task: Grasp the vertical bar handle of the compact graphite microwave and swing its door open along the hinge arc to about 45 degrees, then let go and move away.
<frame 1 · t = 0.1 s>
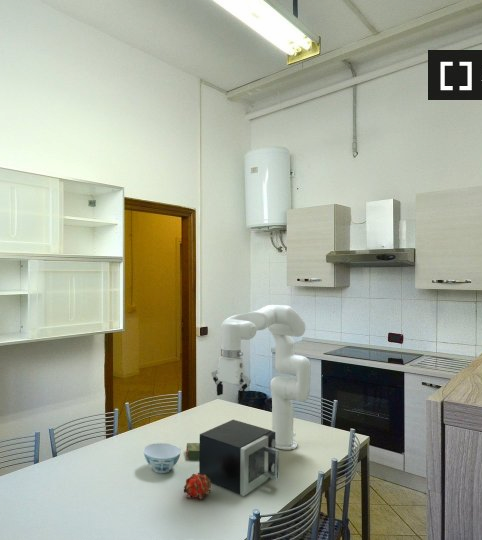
hand: (230, 397, 168), 31 cm above the table, tool pointing down, fingers open, 9 cm apart
microwave door: (261, 467, 158), point 9 cm above the table, hinge at 0.0°
chinaware: (161, 469, 174), on the table
microwave: (235, 475, 169), on the table
carton: (205, 456, 187), on the table
dragon fruit: (196, 497, 153), on the table
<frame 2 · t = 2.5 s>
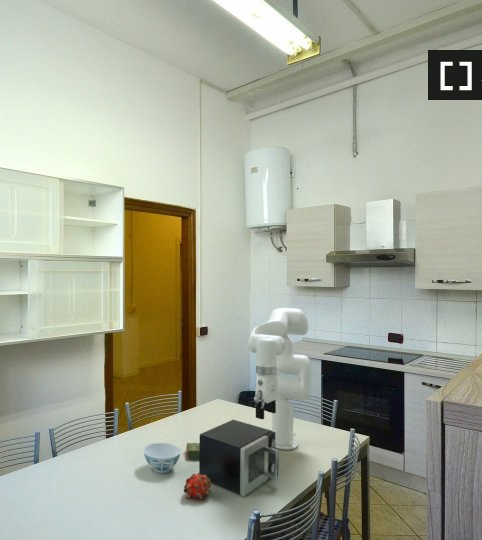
hand: (265, 415, 163), 26 cm above the table, tool pointing down, fingers open, 9 cm apart
nothing on the table moved.
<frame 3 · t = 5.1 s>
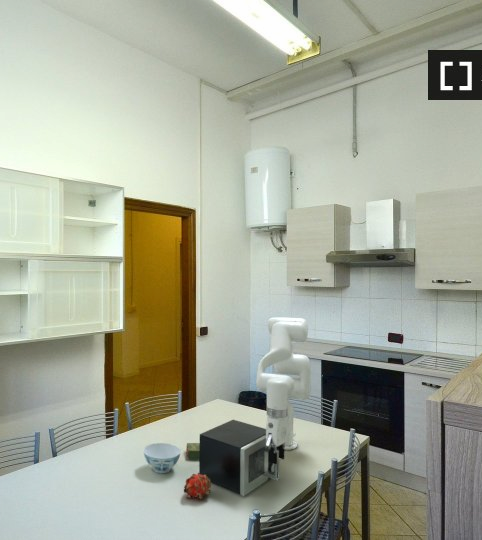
hand: (276, 459, 162), 9 cm above the table, tool pointing down, fingers open, 5 cm apart
microwave door: (261, 467, 158), point 9 cm above the table, hinge at 0.0°, touching gripper
everything else where it was.
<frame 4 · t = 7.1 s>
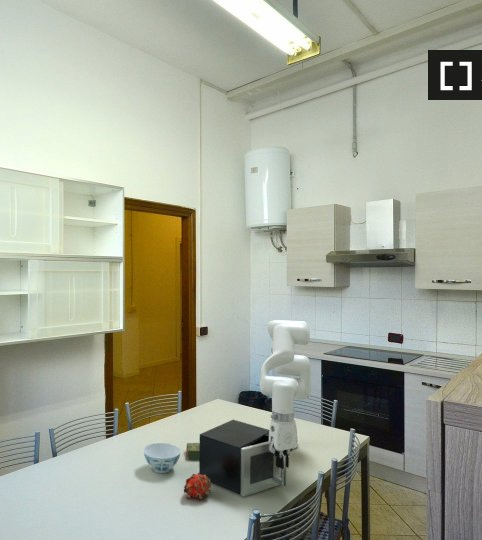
hand: (282, 466, 156), 9 cm above the table, tool pointing down, fingers closed, pressing on microwave door
microwave door: (266, 470, 155), point 8 cm above the table, hinge at 16.8°, touching gripper
everything else where it was.
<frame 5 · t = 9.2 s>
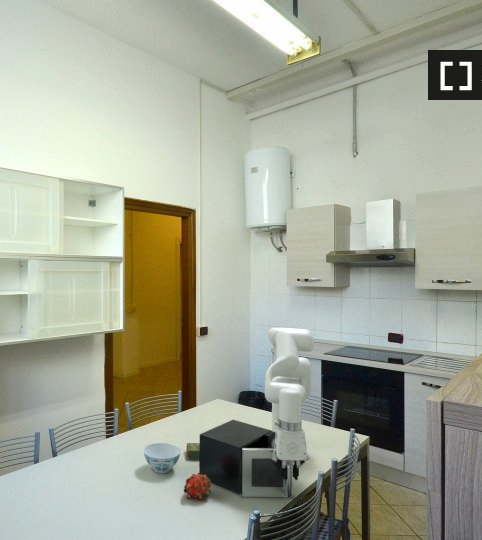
hand: (289, 477, 148), 9 cm above the table, tool pointing down, fingers open, 3 cm apart
microwave door: (269, 476, 151), point 9 cm above the table, hinge at 46.3°
everything else where it was.
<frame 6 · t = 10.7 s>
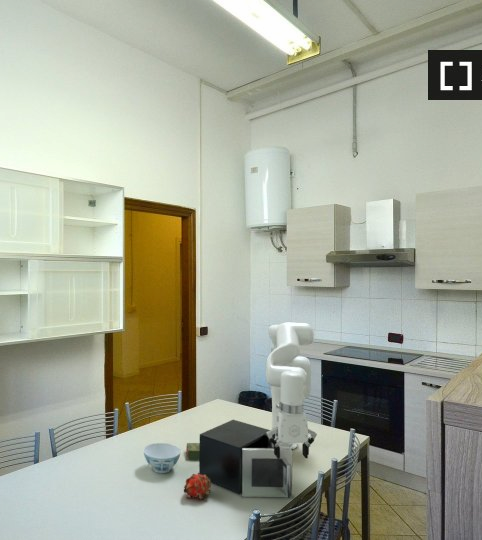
hand: (291, 456, 149), 16 cm above the table, tool pointing down, fingers open, 9 cm apart
nothing on the table moved.
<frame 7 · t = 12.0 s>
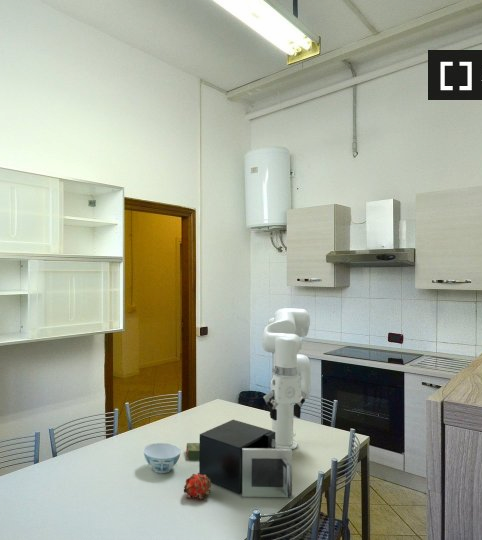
hand: (285, 418, 156), 27 cm above the table, tool pointing down, fingers open, 9 cm apart
nothing on the table moved.
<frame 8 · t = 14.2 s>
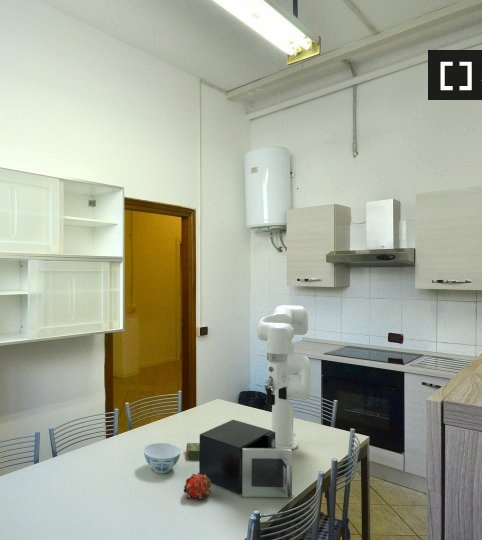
hand: (276, 401, 166), 30 cm above the table, tool pointing down, fingers open, 9 cm apart
nothing on the table moved.
at the end: microwave door at +46° (first picture: +0°); the gripper is holding nothing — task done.
